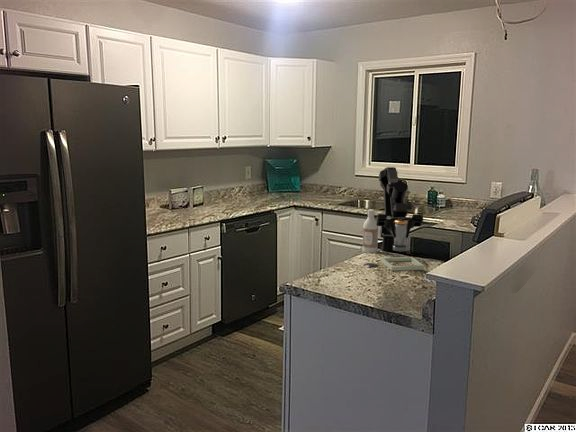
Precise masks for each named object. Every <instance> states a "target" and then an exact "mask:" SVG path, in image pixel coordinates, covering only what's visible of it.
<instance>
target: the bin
mask: <svg viewBox="0 0 576 432" xmlns="http://www.w3.org/2000/svg"><path fill="white" fill-rule="evenodd" d="M380 260H381V261H380V262H382V263H383V264H384V265H385V267H386V268H388V269H389V270H390V271H419V270H421V271H422V270H423V271H424V270H425V265H424V264H423V263H421V262H420V261H419V260H417V259H415V258H414V257H412V256H400V257H399V256H396V257H381V258H380ZM390 262H391V263H392V262H411V263H413V264H414V265H392V264H391V263H390Z"/></svg>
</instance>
